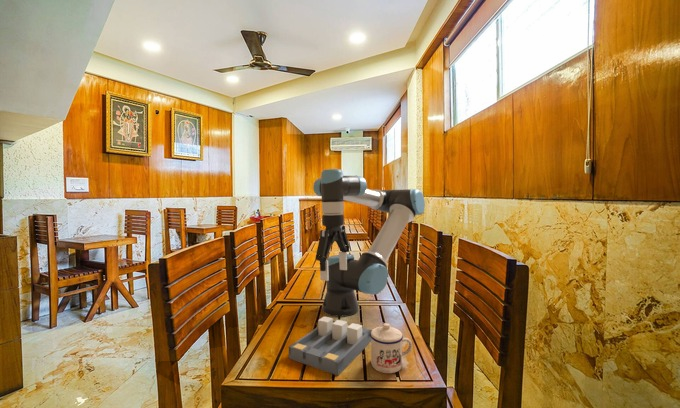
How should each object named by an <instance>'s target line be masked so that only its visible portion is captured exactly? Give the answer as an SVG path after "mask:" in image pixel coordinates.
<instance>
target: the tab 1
mask: <svg viewBox="0 0 680 408" xmlns="http://www.w3.org/2000/svg"><path fill="white" fill-rule="evenodd" d="M333 321H334V318H332V317H328V316H325V315H324V316H322V317H321V318H319V319H318V320H317V322H318V324H317V327H318V335H320V336H324V335H325V334H327V333H328V332H329V331H331V330H332V323H333Z"/></svg>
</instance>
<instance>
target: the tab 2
mask: <svg viewBox="0 0 680 408" xmlns="http://www.w3.org/2000/svg"><path fill="white" fill-rule="evenodd" d="M334 321H335V322H334V323H332V339H335V340H339V339H340V338H341V337H342V336H344V335H345V334H346V333H347V324H348V321H346V320H343V319H342V320H341V319H336V320H334Z"/></svg>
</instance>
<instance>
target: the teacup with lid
mask: <svg viewBox="0 0 680 408" xmlns="http://www.w3.org/2000/svg"><path fill="white" fill-rule="evenodd" d="M371 330H372V331H371V334H370V336H371V342H370V343H371V344H370V345H371V346H370V347H371V349H370V356H371V357H370V359H371V361H370V364H371V367H373V369H374V370H376V371H378V372H379V373H383V374H394V373H398V372H400V370H401V369H402V366H403V357H406V356H408V355H409V354H410V353H411V352H412V349H413V343H412V340H411V339H410V338H407V337H404V336H403V333H402V332H401V330H399V329H398V328H396V327H393V326H391V324H390V323H387V322H384V323H383V324H382V325H381V326H377V327H375V328H372V329H371ZM403 342H407V343H408V348H407V350H405V351H403Z"/></svg>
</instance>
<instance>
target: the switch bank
mask: <svg viewBox="0 0 680 408" xmlns="http://www.w3.org/2000/svg"><path fill="white" fill-rule="evenodd" d="M335 321H336V320H333V323H334V322H335ZM349 325H351V324H349V323H347V327H348V326H349ZM372 330H373V329H369V328H364V327H362V337H361V338H360V339H359V340H358V341H357V342H356V343H355V344H354V345H352V344H349V343H347V333H346V334H345V335H344V336H342V337H341V338H340V339H339V340H335V339H332V330H331V331H329V332H328V333H327V334H325V335H324V336H320V335H318V326H317V327H315V328H314V329H312V330H311V331H309V333H307V334H305V335H304V336H302V337H300V338H299V339H298V340H297V341H295V342H293V343H292V344H291V345H289V346H288V359H289V360H293V361H295V362H297V363H301V364H304V365H306V366H310V367H312V368H315V369H318V370H321V371H323V372H327V373H329V374H332V375H335V376H339V375H340V374H342V373H343V372H344V370H346V368H347V367H348V366H349V365H350V364H352V363H353V361H354V360H355V359H356V358H357V357H358V356H359V355H360V354H361V352H363V350H365V349H366V348H367V346H369V344H370V343H371V336H370V334H371V331H372Z"/></svg>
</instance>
